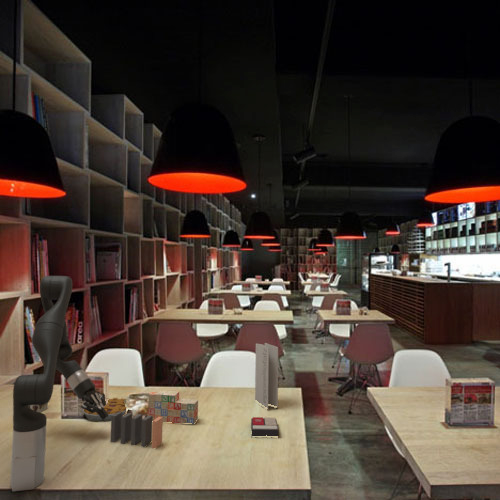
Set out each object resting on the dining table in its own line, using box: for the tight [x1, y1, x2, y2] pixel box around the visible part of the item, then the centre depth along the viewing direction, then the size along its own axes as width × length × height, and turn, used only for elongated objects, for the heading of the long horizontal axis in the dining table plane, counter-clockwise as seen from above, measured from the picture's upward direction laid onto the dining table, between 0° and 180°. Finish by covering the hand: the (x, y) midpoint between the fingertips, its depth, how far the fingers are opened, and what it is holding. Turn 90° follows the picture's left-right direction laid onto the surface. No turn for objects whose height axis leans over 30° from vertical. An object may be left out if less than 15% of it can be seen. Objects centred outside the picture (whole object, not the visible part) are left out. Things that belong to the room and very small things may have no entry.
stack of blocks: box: [147, 389, 199, 425], centre depth 181 cm, size 21×6×12 cm, turn 80°
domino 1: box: [110, 412, 122, 443], centre depth 160 cm, size 2×5×10 cm, turn 164°
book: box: [250, 416, 280, 437], centre depth 171 cm, size 11×4×15 cm
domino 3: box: [130, 413, 143, 446], centre depth 157 cm, size 2×5×10 cm, turn 164°
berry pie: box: [82, 397, 126, 422], centre depth 188 cm, size 22×22×5 cm
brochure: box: [254, 342, 279, 409], centre depth 204 cm, size 14×6×30 cm, turn 25°
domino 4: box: [140, 415, 153, 448], centre depth 156 cm, size 2×5×10 cm, turn 164°
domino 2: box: [120, 412, 133, 445], centre depth 158 cm, size 2×5×10 cm, turn 164°
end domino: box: [151, 417, 164, 449], centre depth 155 cm, size 2×5×10 cm, turn 164°
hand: (105, 417), depth 161 cm, fingers closed
